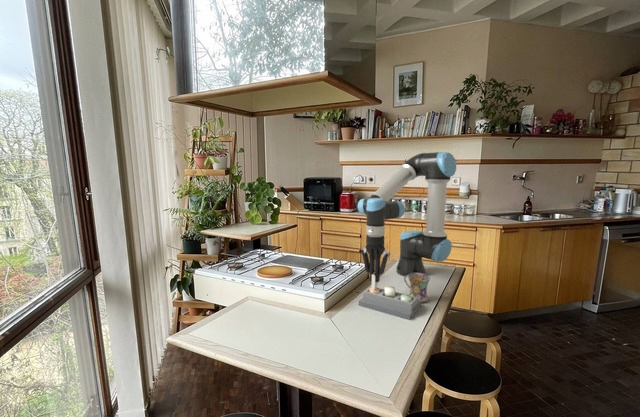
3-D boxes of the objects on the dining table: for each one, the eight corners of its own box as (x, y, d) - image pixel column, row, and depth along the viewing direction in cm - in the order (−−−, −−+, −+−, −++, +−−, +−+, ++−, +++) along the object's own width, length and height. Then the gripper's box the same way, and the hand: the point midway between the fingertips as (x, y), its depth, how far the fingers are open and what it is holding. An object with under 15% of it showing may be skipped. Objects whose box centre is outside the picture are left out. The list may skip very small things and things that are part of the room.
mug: (433, 299, 135) (434, 276, 133) (421, 306, 129) (422, 281, 127) (409, 291, 144) (410, 269, 142) (397, 297, 138) (398, 274, 136)
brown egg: (372, 293, 136) (372, 286, 136) (381, 296, 134) (381, 288, 133) (367, 297, 133) (367, 289, 132) (377, 299, 130) (377, 291, 130)
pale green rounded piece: (402, 301, 128) (402, 293, 127) (413, 304, 125) (413, 296, 125) (398, 305, 124) (398, 297, 124) (409, 308, 122) (409, 299, 121)
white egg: (387, 293, 132) (387, 285, 131) (396, 295, 129) (397, 287, 129) (382, 296, 128) (382, 288, 128) (392, 299, 126) (392, 291, 125)
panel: (373, 294, 141) (373, 283, 141) (421, 306, 129) (421, 294, 128) (358, 305, 130) (358, 294, 129) (409, 319, 117) (409, 307, 117)
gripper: (357, 234, 130) (356, 288, 133) (386, 238, 123) (385, 295, 126) (365, 231, 136) (365, 282, 139) (393, 235, 129) (392, 289, 132)
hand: (374, 288), depth 132 cm, fingers closed
